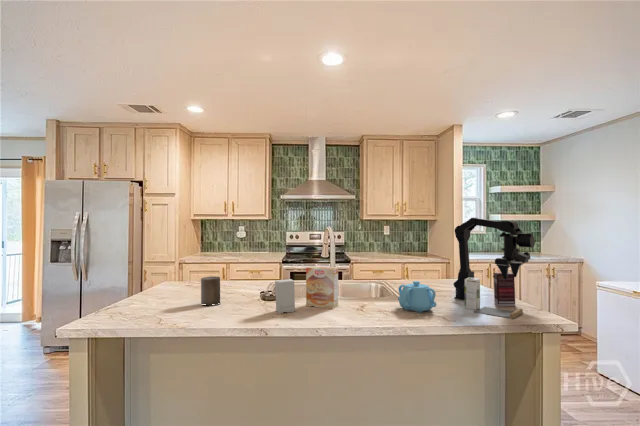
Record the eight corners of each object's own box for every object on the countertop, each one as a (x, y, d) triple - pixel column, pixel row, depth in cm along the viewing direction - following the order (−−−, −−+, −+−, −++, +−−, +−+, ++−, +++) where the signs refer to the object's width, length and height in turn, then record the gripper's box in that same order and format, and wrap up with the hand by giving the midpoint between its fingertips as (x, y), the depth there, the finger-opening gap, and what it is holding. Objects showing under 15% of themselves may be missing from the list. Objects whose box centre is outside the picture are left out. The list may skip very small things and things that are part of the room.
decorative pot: (430, 306, 184) (430, 278, 184) (438, 314, 168) (437, 284, 168) (397, 305, 186) (397, 278, 186) (401, 313, 170) (401, 284, 170)
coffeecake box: (305, 306, 185) (305, 267, 185) (311, 303, 192) (311, 265, 192) (333, 309, 179) (333, 268, 180) (338, 305, 186) (338, 267, 186)
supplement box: (511, 303, 187) (510, 272, 188) (515, 306, 183) (514, 273, 183) (493, 303, 188) (493, 272, 189) (497, 305, 183) (496, 273, 184)
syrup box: (468, 306, 183) (467, 276, 183) (480, 308, 179) (480, 278, 179) (464, 308, 179) (463, 278, 179) (477, 310, 175) (476, 279, 175)
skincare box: (291, 309, 179) (291, 278, 179) (295, 312, 174) (295, 280, 174) (274, 310, 176) (274, 279, 177) (277, 313, 171) (277, 281, 171)
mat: (473, 312, 171) (473, 307, 171) (484, 307, 181) (484, 303, 181) (513, 318, 159) (512, 314, 159) (522, 313, 169) (522, 309, 169)
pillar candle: (224, 303, 193) (224, 274, 193) (209, 307, 185) (209, 277, 185) (211, 301, 198) (211, 273, 198) (196, 305, 190) (196, 275, 190)
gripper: (517, 248, 170) (517, 282, 170) (536, 246, 181) (536, 278, 181) (494, 246, 179) (494, 279, 179) (513, 245, 190) (513, 275, 190)
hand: (510, 278), depth 182 cm, fingers open, 9 cm apart
